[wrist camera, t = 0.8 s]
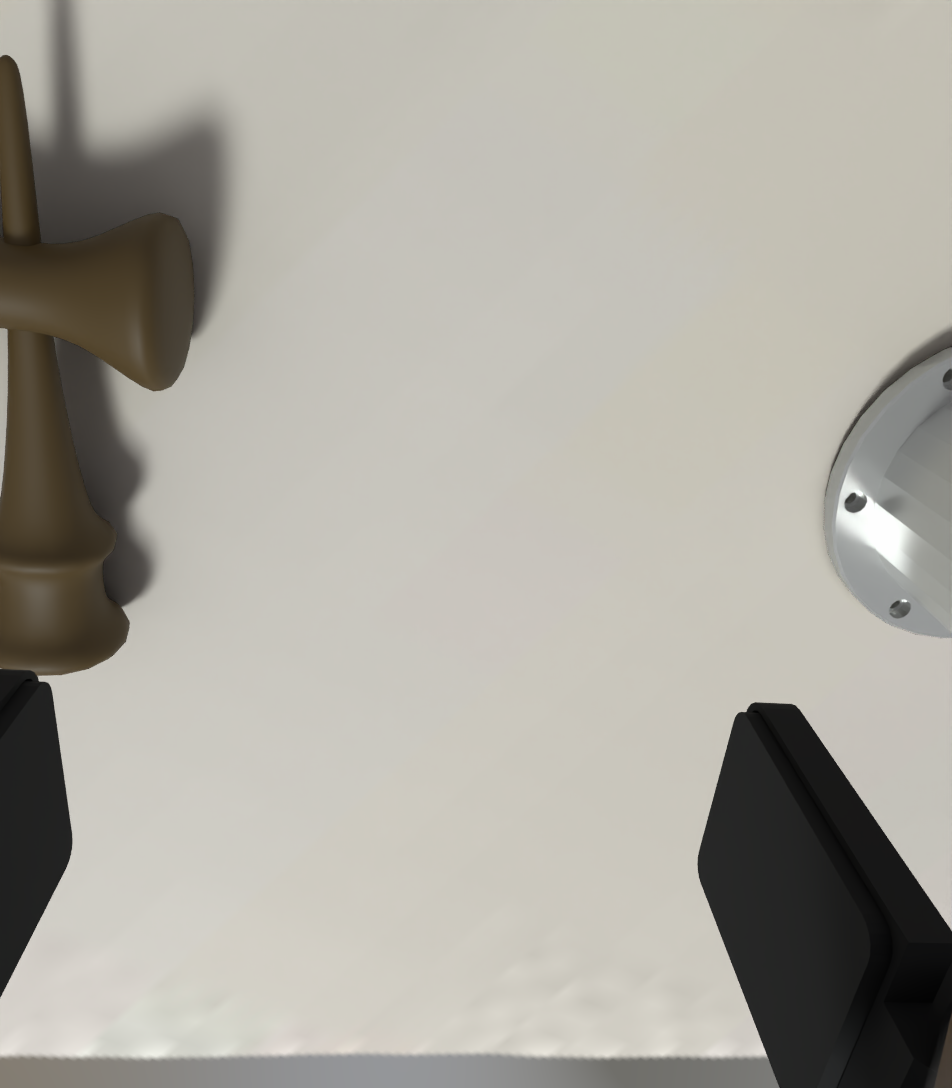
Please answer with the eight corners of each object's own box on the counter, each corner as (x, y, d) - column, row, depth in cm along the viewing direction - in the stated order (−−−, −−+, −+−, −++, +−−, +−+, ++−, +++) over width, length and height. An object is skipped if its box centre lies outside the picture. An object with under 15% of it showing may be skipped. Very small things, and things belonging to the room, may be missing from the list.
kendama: (-37, 597, 34) (-117, 36, 26) (203, 619, 35) (206, 88, 27) (-122, 684, 29) (-259, 10, 20) (165, 706, 30) (152, 77, 21)
